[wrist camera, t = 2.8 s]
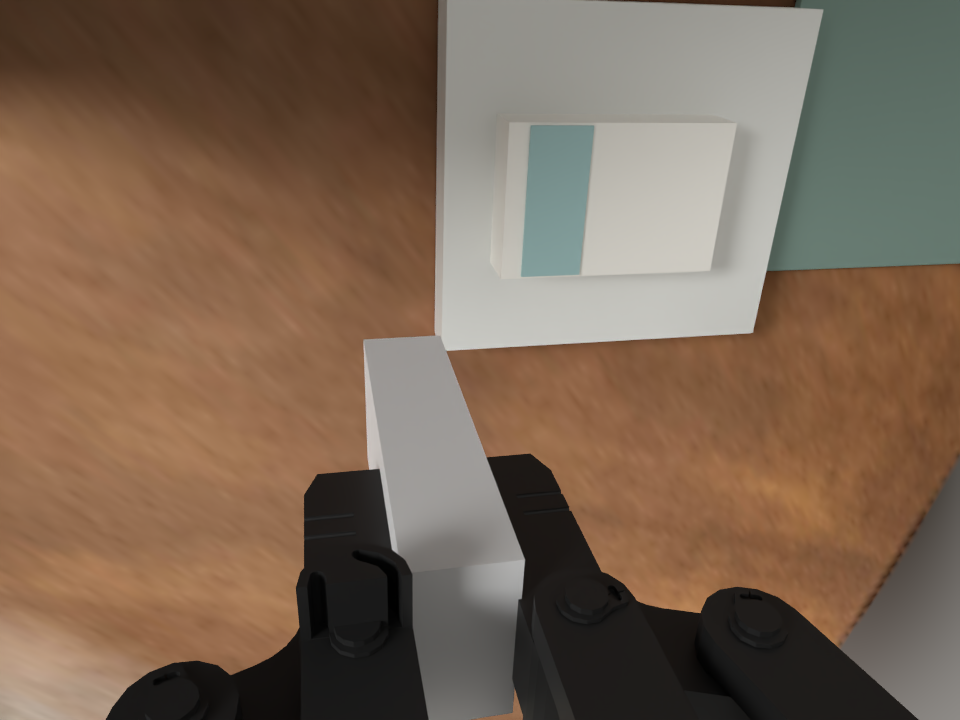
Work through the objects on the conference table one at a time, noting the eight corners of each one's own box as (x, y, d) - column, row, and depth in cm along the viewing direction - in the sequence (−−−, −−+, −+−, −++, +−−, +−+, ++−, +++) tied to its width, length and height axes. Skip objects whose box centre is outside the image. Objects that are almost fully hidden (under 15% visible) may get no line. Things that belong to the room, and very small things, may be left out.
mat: (808, -61, 30) (814, -62, 30) (1111, -44, 33) (1120, -44, 33) (741, 269, 37) (745, 271, 36) (1001, 258, 40) (1007, 261, 39)
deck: (438, -6, 28) (447, -5, 27) (794, 7, 31) (823, 9, 30) (434, 331, 35) (441, 350, 33) (731, 316, 38) (752, 332, 36)
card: (496, 113, 29) (510, 122, 27) (712, 114, 31) (738, 123, 29) (490, 262, 32) (501, 280, 30) (688, 255, 33) (711, 271, 32)
